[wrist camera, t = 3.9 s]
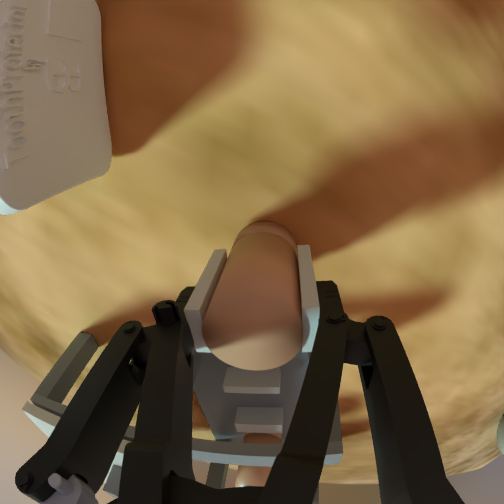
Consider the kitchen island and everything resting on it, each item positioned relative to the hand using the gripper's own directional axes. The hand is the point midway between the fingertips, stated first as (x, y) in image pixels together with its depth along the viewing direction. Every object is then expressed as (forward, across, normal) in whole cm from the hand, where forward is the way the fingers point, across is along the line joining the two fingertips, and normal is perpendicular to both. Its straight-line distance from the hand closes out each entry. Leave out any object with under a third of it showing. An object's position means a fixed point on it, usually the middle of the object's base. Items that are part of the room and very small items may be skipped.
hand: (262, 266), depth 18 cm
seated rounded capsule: (+2, -2, -24) cm, 24 cm away
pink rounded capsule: (+2, 0, 0) cm, 2 cm away
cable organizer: (+2, -15, +15) cm, 21 cm away
